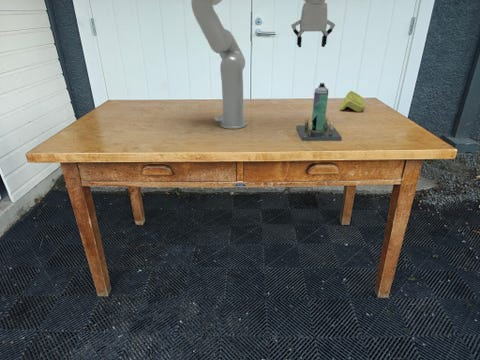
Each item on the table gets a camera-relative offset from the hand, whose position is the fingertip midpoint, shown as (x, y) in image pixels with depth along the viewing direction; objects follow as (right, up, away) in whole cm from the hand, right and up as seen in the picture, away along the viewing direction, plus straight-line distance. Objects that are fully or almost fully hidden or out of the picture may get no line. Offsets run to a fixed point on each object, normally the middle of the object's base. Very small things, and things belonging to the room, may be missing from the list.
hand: (311, 46), depth 131 cm
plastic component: (+33, -15, +46) cm, 59 cm away
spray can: (+4, -34, +6) cm, 35 cm away
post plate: (+4, -35, +7) cm, 36 cm away
